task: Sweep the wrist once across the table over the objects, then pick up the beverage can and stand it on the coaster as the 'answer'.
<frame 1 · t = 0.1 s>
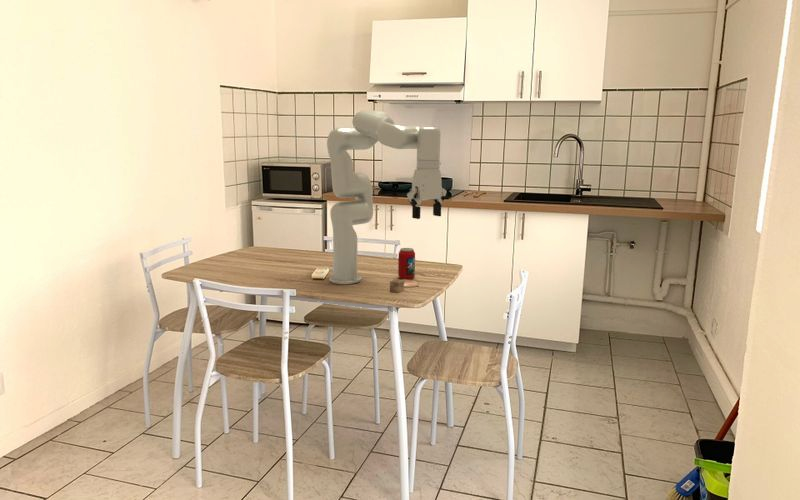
hand: (426, 217, 197), 31 cm above the table, fingers open, 9 cm apart
coaster: (405, 284, 232), on the table
beverage can: (406, 278, 242), on the table
walnut block: (396, 291, 223), on the table
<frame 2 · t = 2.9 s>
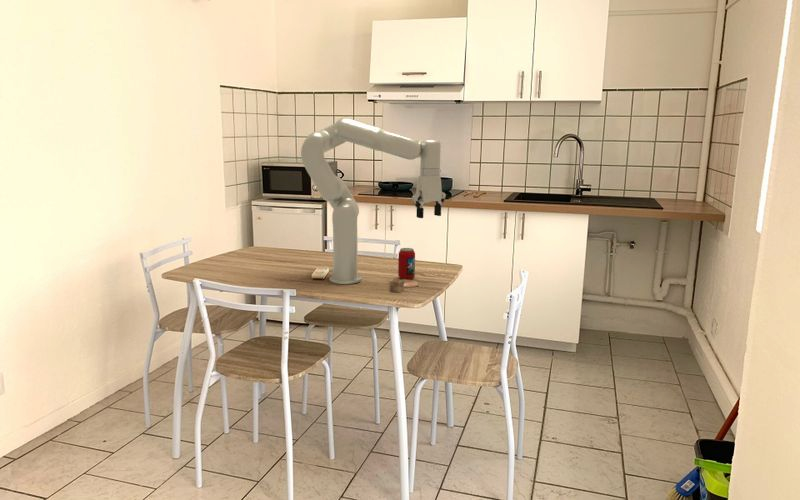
hand: (428, 216, 231), 26 cm above the table, fingers open, 9 cm apart
nothing on the table moved.
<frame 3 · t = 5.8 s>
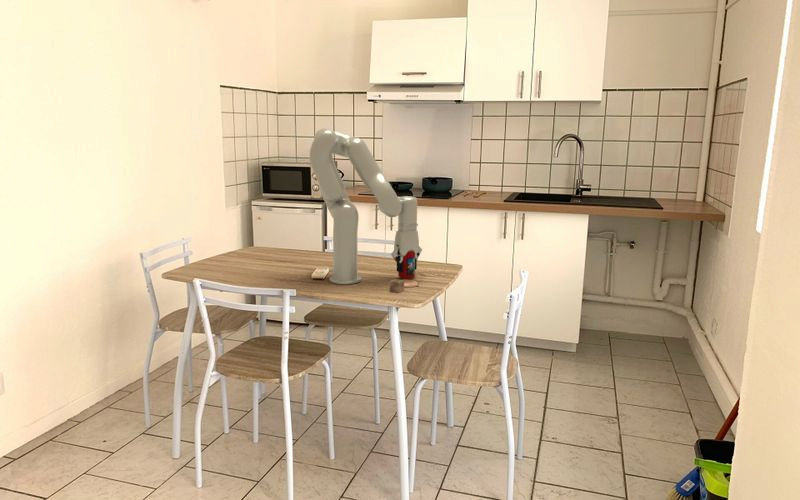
hand: (406, 270, 241), 3 cm above the table, fingers closed on beverage can, 6 cm apart
beverage can: (406, 278, 242), on the table, touching gripper
everything else where it was.
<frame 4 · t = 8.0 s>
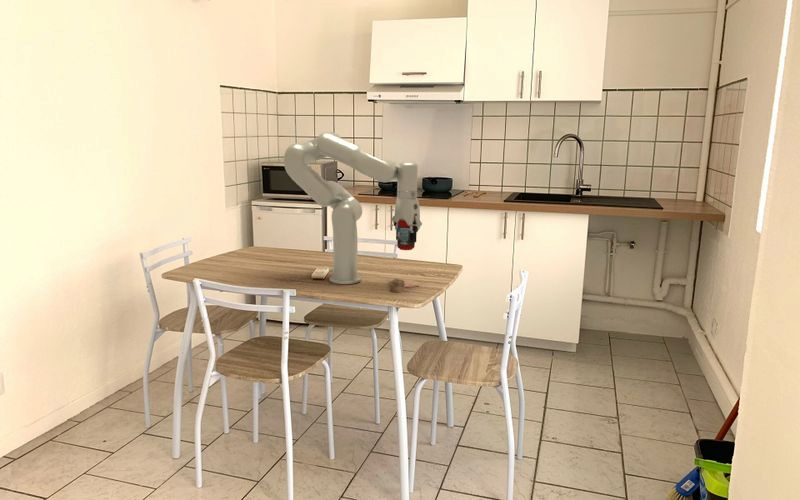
hand: (406, 240, 229), 17 cm above the table, fingers closed on beverage can, 6 cm apart
beverage can: (405, 249, 230), point 14 cm above the table, touching gripper
everything else where it was.
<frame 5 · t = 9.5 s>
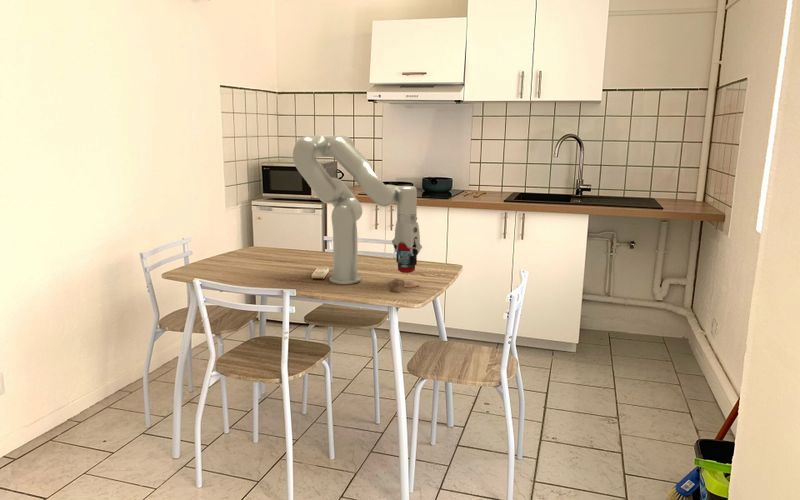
hand: (406, 263, 231), 8 cm above the table, fingers closed on beverage can, 6 cm apart
beverage can: (406, 272, 231), point 5 cm above the table, touching gripper
everything else where it was.
when the fingers open (5 cm above the table, at t = 10.7 s): beverage can drops 1 cm, resting on coaster.
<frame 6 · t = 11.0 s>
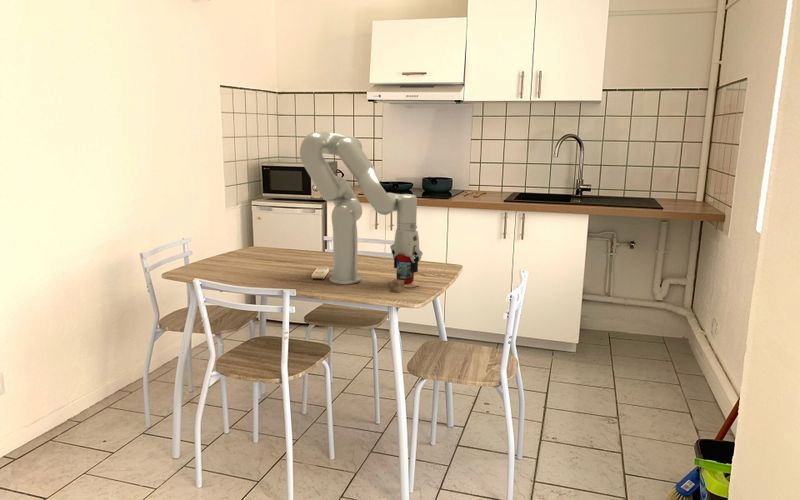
hand: (405, 269, 231), 6 cm above the table, fingers open, 9 cm apart
beverage can: (405, 283, 232), resting on coaster
everything else where it was.
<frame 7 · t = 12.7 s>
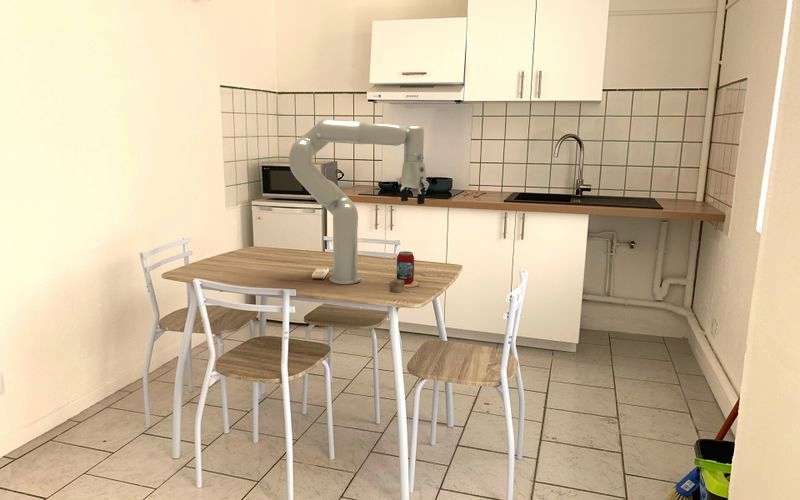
hand: (412, 202, 233), 31 cm above the table, fingers open, 9 cm apart
nothing on the table moved.
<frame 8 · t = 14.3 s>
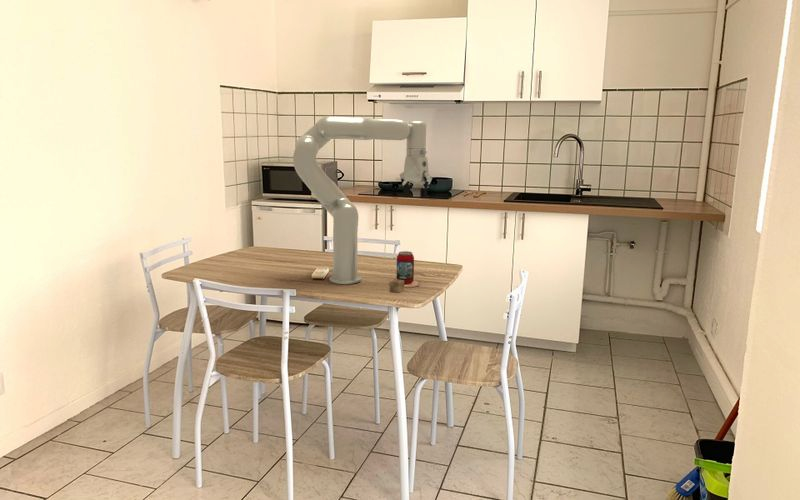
hand: (415, 196, 235), 33 cm above the table, fingers open, 9 cm apart
nothing on the table moved.
at the end: beverage can 0.2 cm from the coaster (horizontally); beverage can tilted 0°; the gripper is holding nothing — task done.
